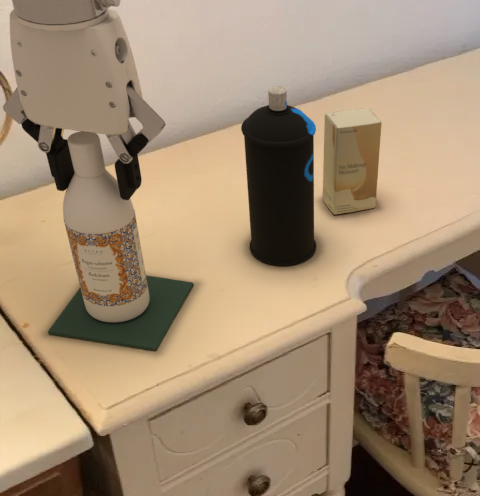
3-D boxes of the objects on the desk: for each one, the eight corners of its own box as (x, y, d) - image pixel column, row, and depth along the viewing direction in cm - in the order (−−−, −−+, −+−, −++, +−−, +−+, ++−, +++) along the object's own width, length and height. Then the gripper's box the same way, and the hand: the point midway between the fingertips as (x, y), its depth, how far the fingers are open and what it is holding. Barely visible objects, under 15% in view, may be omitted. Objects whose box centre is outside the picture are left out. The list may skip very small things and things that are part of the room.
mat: (48, 334, 89) (47, 331, 89) (95, 270, 98) (94, 267, 97) (155, 351, 88) (155, 348, 88) (193, 285, 97) (193, 282, 96)
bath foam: (77, 322, 90) (33, 152, 76) (97, 284, 95) (59, 118, 81) (140, 327, 90) (108, 158, 76) (157, 289, 95) (129, 123, 81)
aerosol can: (261, 272, 99) (251, 111, 85) (241, 235, 104) (229, 78, 91) (326, 258, 102) (327, 101, 88) (303, 224, 107) (300, 70, 93)
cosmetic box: (333, 216, 109) (334, 128, 100) (321, 200, 111) (321, 112, 103) (378, 207, 111) (383, 120, 102) (365, 191, 114) (369, 105, 105)
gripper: (173, -6, 72) (195, 181, 84) (-15, -28, 73) (34, 159, 86) (140, 25, 66) (169, 220, 79) (-62, 0, 68) (-2, 196, 81)
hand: (98, 187), depth 82 cm, fingers open, 5 cm apart
